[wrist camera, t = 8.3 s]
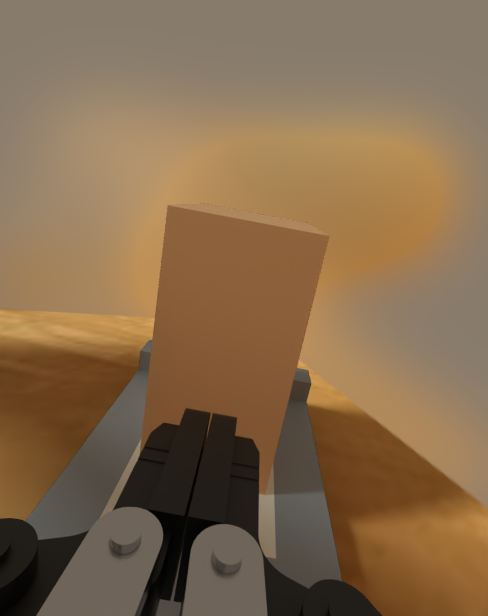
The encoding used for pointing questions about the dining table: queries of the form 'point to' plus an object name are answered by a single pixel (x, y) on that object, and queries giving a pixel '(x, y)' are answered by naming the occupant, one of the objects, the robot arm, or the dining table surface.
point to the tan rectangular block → (231, 319)
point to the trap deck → (272, 506)
